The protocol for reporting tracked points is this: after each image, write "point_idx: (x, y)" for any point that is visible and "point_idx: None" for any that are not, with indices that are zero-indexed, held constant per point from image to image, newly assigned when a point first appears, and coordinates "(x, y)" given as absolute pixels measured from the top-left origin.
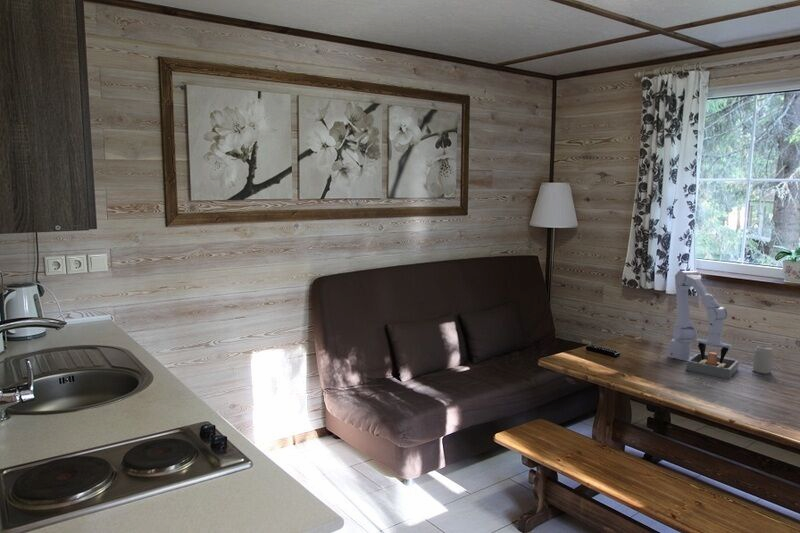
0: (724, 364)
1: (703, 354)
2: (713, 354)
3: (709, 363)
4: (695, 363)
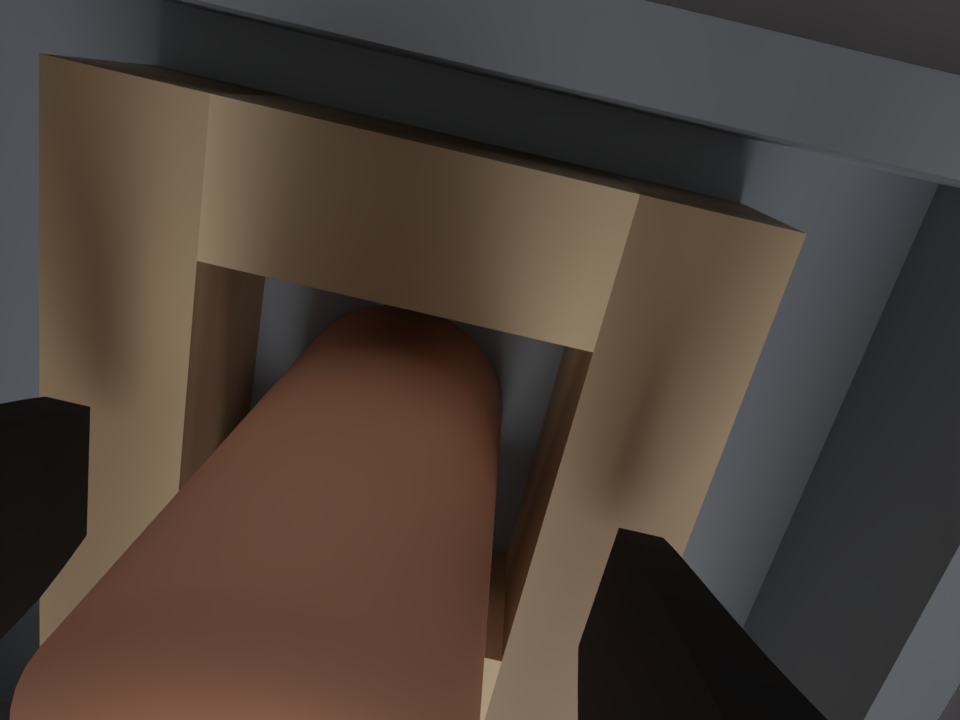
0: (59, 583)
1: (668, 683)
2: (174, 614)
3: (419, 388)
4: (924, 75)
